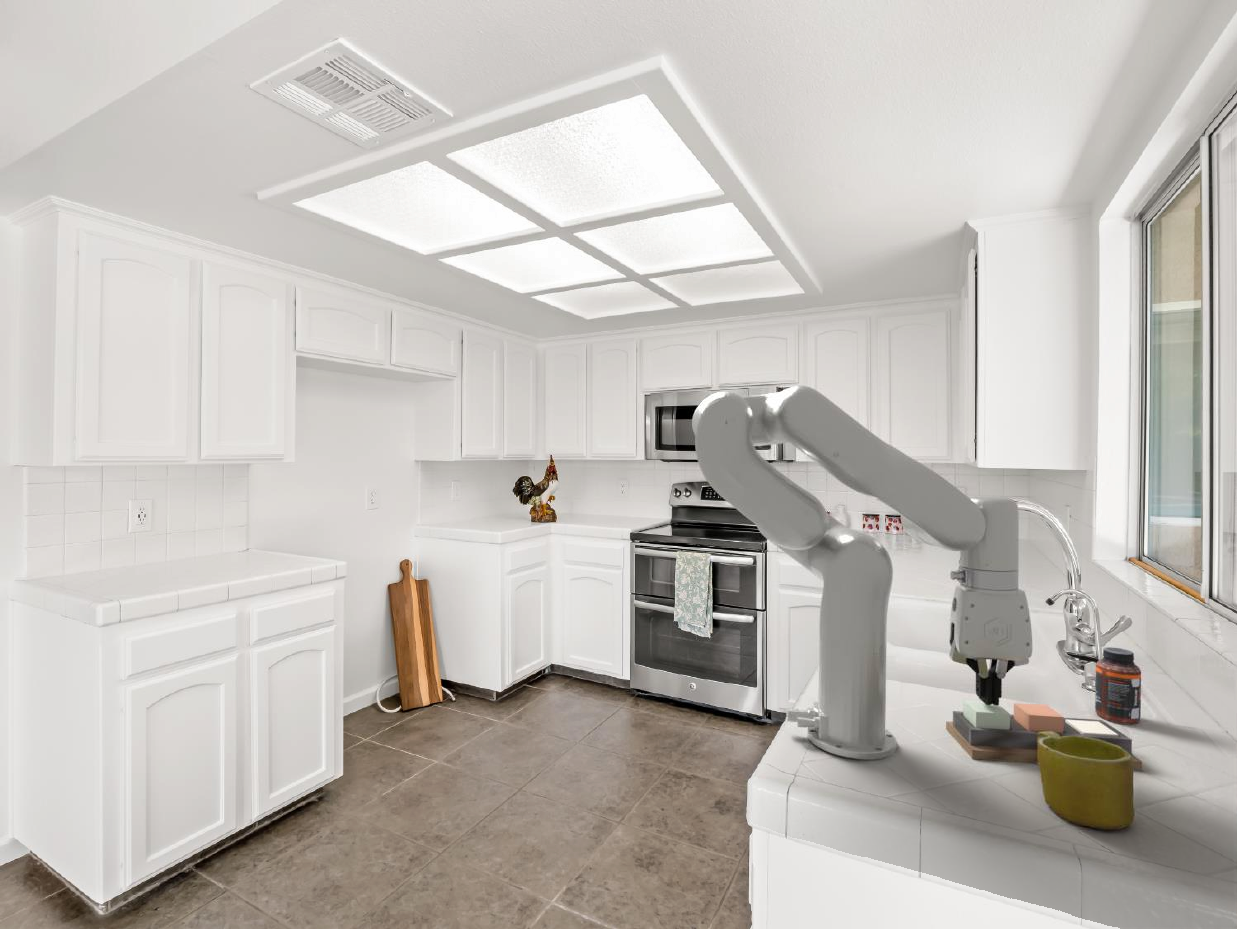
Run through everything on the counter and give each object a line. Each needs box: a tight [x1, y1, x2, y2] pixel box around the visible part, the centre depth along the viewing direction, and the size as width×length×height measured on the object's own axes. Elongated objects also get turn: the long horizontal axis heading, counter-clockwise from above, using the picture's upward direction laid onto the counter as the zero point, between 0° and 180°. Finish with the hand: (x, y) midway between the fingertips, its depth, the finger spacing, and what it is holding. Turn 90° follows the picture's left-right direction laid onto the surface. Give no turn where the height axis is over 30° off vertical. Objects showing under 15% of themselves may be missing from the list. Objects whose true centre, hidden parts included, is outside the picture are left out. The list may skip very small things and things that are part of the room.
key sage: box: [962, 699, 1011, 730], centre depth 95 cm, size 5×5×2 cm
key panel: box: [945, 710, 1143, 771], centre depth 94 cm, size 22×10×4 cm, turn 82°
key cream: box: [1065, 720, 1118, 737], centre depth 93 cm, size 5×5×2 cm
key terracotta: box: [1013, 702, 1065, 733], centre depth 94 cm, size 5×5×2 cm
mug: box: [1037, 731, 1135, 830], centre depth 78 cm, size 12×10×10 cm
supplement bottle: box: [1094, 646, 1142, 725], centre depth 105 cm, size 6×6×11 cm
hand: (988, 701), depth 95 cm, fingers closed
